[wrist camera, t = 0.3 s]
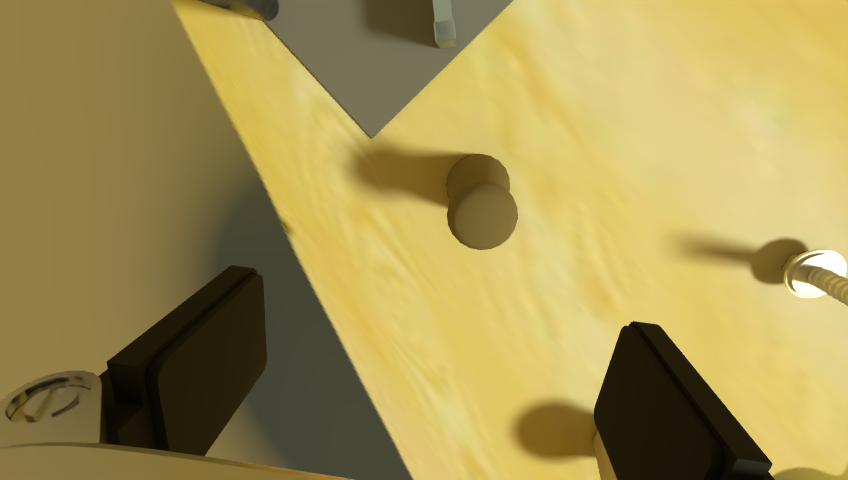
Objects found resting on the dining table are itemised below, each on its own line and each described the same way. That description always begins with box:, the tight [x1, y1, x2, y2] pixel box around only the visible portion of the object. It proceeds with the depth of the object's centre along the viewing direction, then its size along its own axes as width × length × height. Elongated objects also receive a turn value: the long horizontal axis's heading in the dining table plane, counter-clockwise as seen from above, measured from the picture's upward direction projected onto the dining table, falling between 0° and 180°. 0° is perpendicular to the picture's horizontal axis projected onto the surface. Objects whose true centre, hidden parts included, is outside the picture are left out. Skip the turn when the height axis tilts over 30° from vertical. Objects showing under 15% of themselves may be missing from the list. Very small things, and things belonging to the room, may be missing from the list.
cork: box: [446, 154, 518, 250], centre depth 33 cm, size 6×6×11 cm
